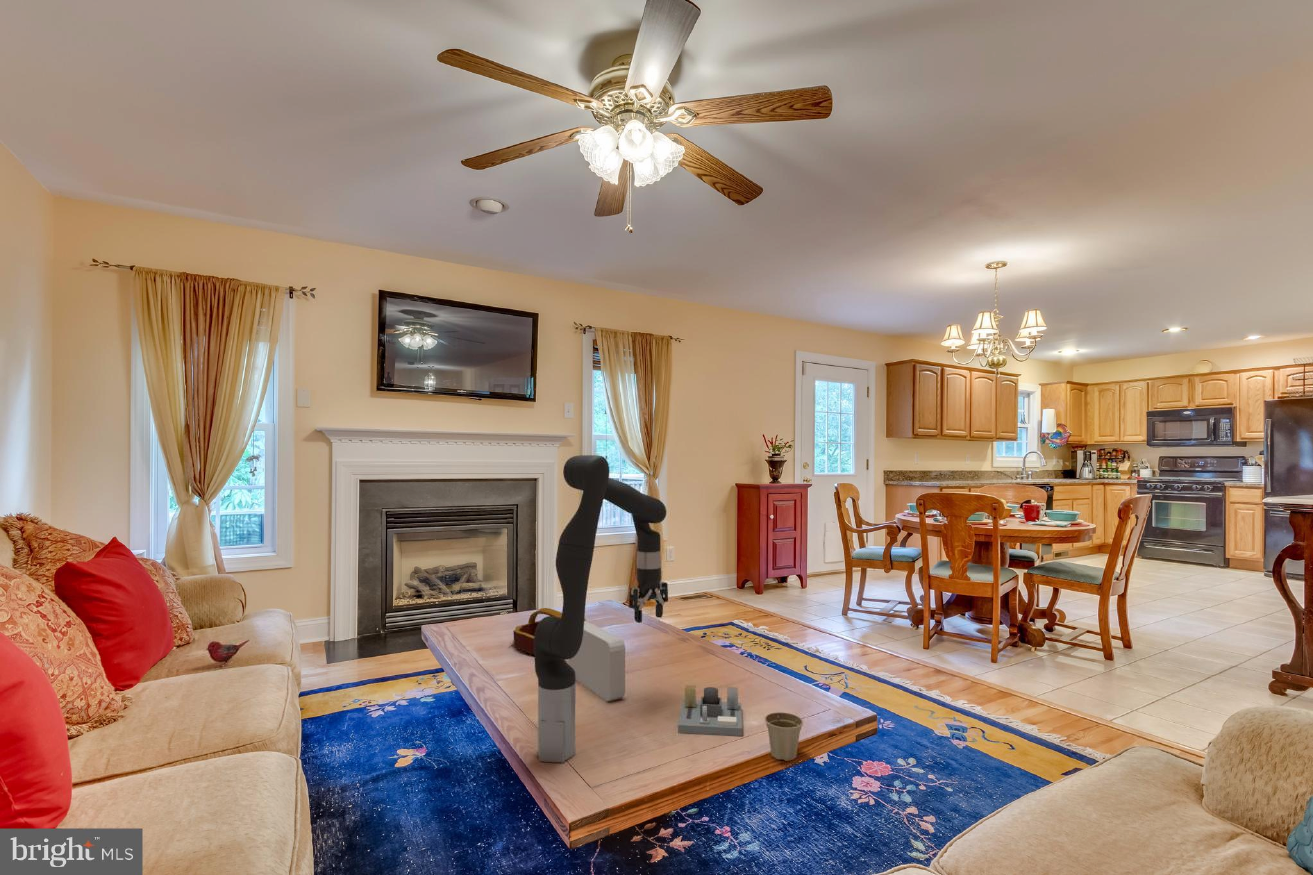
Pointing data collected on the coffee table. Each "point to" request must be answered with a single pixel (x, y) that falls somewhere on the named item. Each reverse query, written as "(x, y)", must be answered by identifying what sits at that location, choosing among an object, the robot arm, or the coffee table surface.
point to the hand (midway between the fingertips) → (648, 619)
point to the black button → (710, 695)
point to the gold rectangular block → (690, 696)
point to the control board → (710, 719)
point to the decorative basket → (531, 630)
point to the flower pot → (783, 734)
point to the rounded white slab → (600, 663)
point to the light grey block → (732, 697)
